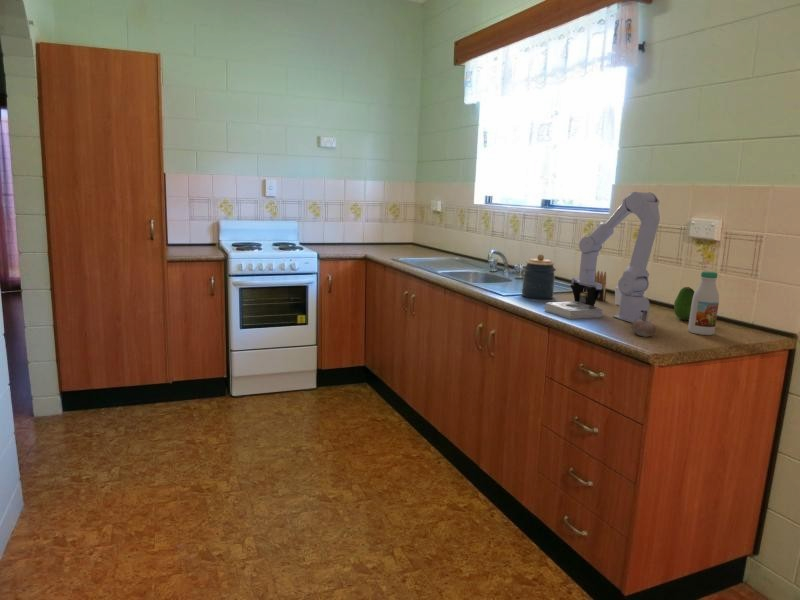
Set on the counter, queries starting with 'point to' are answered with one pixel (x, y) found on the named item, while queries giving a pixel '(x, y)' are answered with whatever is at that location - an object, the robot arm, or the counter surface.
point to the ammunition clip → (602, 281)
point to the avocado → (684, 303)
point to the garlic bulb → (643, 326)
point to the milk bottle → (704, 305)
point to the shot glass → (617, 295)
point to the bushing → (583, 297)
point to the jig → (573, 310)
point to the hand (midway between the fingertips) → (584, 304)
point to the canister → (538, 278)
